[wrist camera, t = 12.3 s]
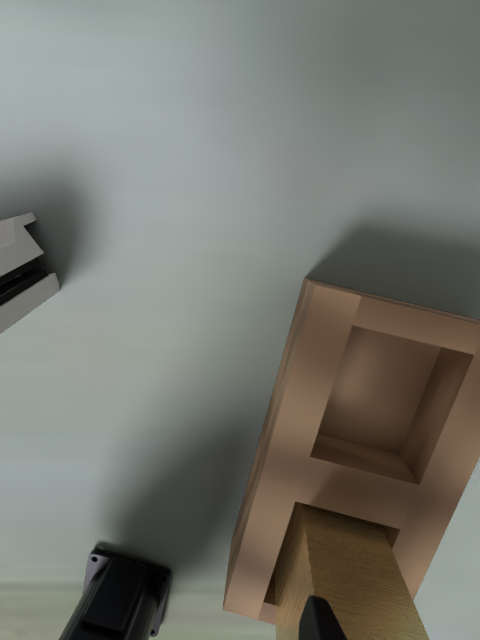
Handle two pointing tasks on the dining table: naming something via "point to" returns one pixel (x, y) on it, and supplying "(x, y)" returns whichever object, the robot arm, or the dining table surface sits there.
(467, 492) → the dining table surface
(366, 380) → the recessed tan tray
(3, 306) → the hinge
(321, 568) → the tan block
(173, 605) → the dining table surface
